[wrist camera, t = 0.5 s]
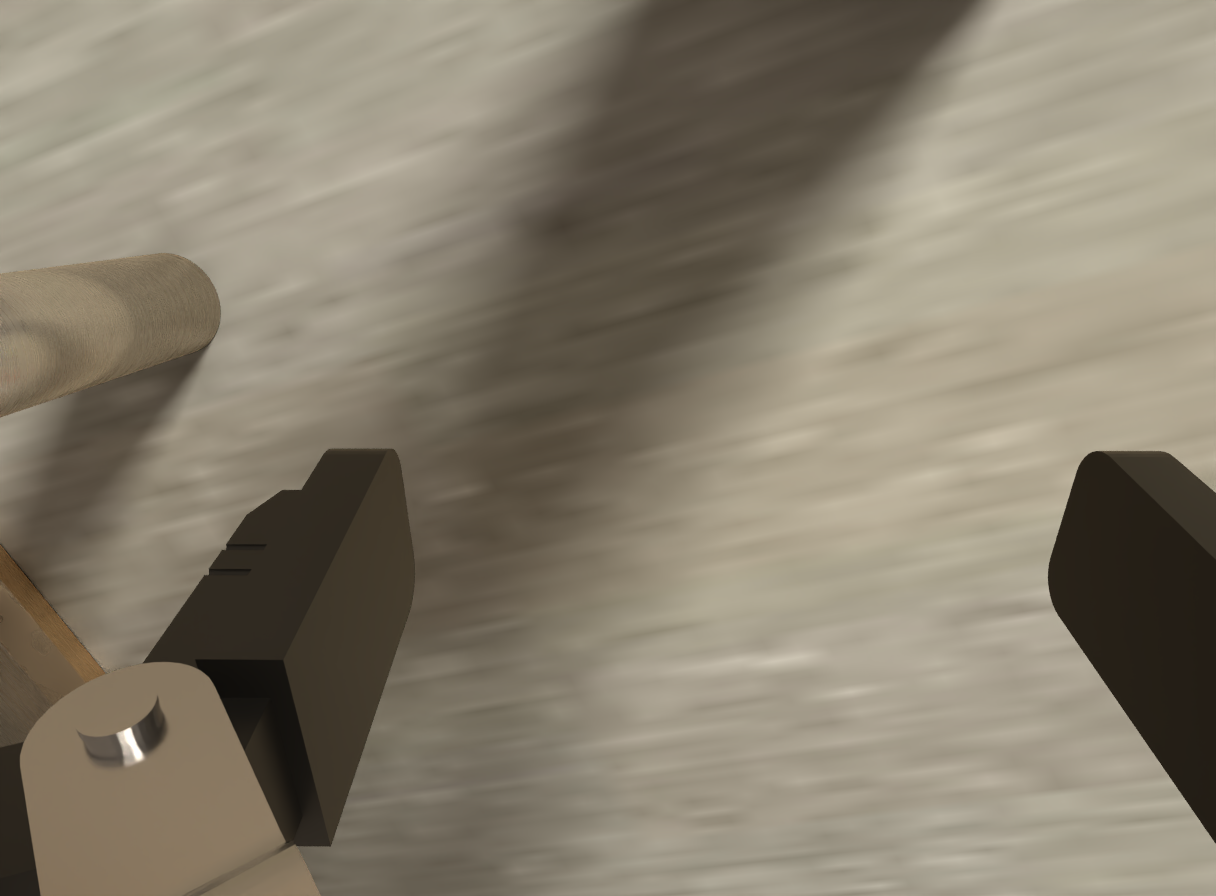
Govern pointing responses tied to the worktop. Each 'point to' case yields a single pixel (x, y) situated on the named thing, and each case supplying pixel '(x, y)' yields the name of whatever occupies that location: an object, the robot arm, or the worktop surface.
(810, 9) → the worktop surface
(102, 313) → the steel pin
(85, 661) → the pin socket base plate
